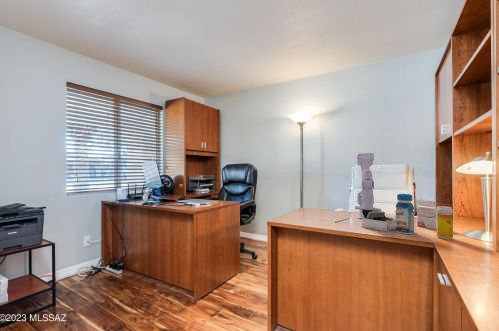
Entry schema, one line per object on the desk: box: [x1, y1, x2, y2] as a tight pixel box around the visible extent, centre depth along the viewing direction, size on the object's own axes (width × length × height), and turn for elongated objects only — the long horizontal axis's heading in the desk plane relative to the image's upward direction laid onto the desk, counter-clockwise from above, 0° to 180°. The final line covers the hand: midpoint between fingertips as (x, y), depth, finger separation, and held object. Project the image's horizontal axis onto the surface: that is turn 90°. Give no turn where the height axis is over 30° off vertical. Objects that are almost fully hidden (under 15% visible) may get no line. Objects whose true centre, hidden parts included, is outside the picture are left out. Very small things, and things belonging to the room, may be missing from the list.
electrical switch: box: [367, 211, 387, 221], centre depth 138 cm, size 9×5×9 cm, turn 93°
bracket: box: [361, 216, 396, 232], centre depth 138 cm, size 14×13×6 cm
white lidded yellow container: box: [436, 205, 454, 241], centre depth 116 cm, size 6×6×15 cm
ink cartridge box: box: [416, 200, 437, 230], centre depth 138 cm, size 9×5×15 cm, turn 47°
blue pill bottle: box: [394, 193, 415, 235], centre depth 127 cm, size 8×8×20 cm
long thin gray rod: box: [334, 217, 350, 224], centre depth 155 cm, size 18×1×1 cm, turn 130°
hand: (367, 222), depth 143 cm, fingers closed
